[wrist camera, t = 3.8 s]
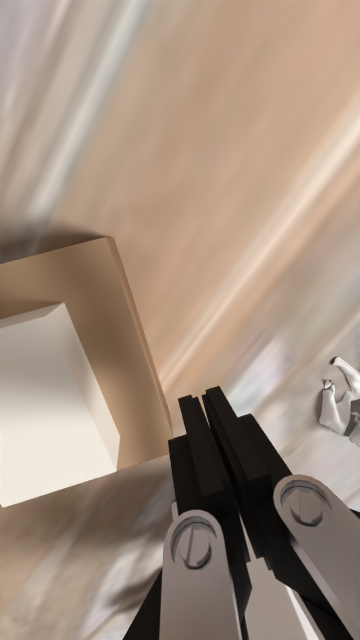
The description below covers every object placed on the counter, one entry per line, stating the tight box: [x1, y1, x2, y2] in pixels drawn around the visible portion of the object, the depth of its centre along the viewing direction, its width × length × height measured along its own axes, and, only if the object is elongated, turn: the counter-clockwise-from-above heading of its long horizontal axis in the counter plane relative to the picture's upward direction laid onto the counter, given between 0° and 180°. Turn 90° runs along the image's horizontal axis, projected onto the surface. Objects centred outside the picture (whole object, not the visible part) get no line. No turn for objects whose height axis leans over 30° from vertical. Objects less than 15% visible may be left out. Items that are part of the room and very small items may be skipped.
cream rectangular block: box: [0, 302, 120, 508], centre depth 13 cm, size 6×9×2 cm, turn 14°
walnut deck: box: [0, 237, 174, 508], centre depth 16 cm, size 15×14×4 cm
